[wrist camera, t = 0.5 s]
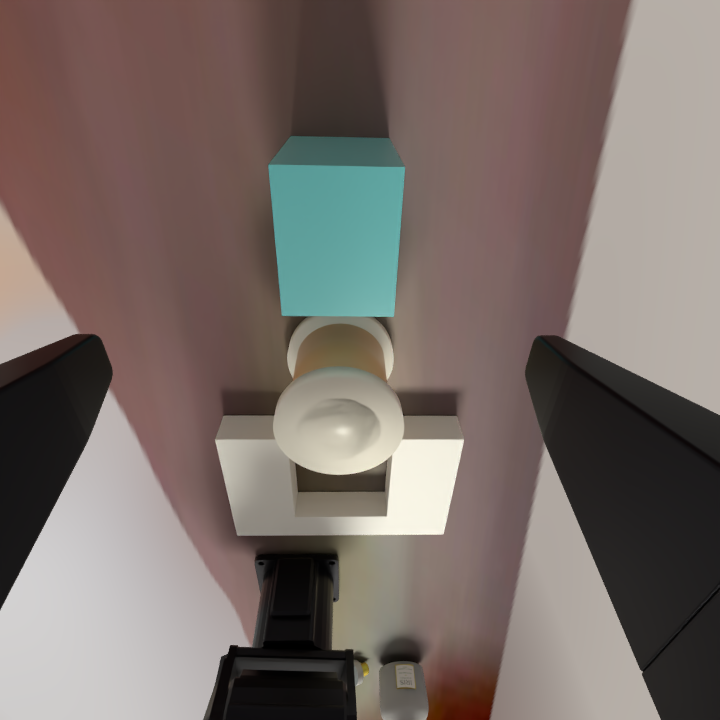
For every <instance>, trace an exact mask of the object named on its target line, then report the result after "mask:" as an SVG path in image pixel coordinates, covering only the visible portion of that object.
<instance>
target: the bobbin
mask: <svg viewBox="0 0 720 720" xmlns="http://www.w3.org/2000/svg"><path fill="white" fill-rule="evenodd" d="M287 362H288V368H289V371H290V373H291V375H292V377H293V381H292V382H291V383H290V384H289V385H288V386H287V387H286V388H285V389H284V391H283V392H282V394H281V395H280V397H279V399H278V402H277V405H276V410H275V415H274V420H273V432H274V437H275V439H276V442H277V444H278V445H279V447H280V449H281V450H282V451H283V452H284V454H285V455H286V456H288V457H289V458H290V459H291V460H292V461H294V462H295V463H297V464H299V465H300V466H302V467H304V468H307V469H309V470H312V471H315V472H319V473H324V474H332V475H346V474H354V473H359V472H363V471H366V470H369V469H371V468H373V467H376V466H378V465H379V464H381V463H383V462H384V461H385V460H387V459H388V458H389V457H390V456H391V455H392V454H393V453H394V452H395V451H396V450H397V448H398V447H399V445H400V443H401V441H402V438H403V434H404V419H403V413H402V407H401V403H400V400H399V398H398V396H397V394H396V393H395V391H394V390H393V389H392V388H391V387H390V386H389V385H388V384H387V380H388V378H389V376H390V374H391V372H392V368H393V363H394V355H393V348H392V342H391V339H390V336H389V334H388V332H387V330H386V329H385V328H384V326H383V325H382V324H381V323H380V322H379V321H378V320H377V319H375V318H374V317H354V316H308V317H307V318H305V319H304V320H303V321H302V322H301V323H300V324H299V325H298V326H297V328H296V329H295V330H294V332H293V334H292V336H291V340H290V343H289V348H288V354H287Z"/></svg>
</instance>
